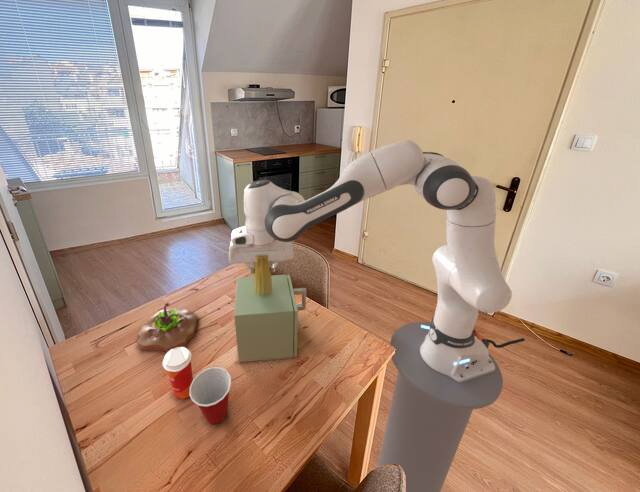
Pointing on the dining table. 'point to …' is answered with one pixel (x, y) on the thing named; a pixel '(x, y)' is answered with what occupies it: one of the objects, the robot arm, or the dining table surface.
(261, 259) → the vase
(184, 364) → the paper cup
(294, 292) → the cupboard door
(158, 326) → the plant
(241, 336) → the cupboard
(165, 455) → the dining table surface
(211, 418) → the plastic cup
